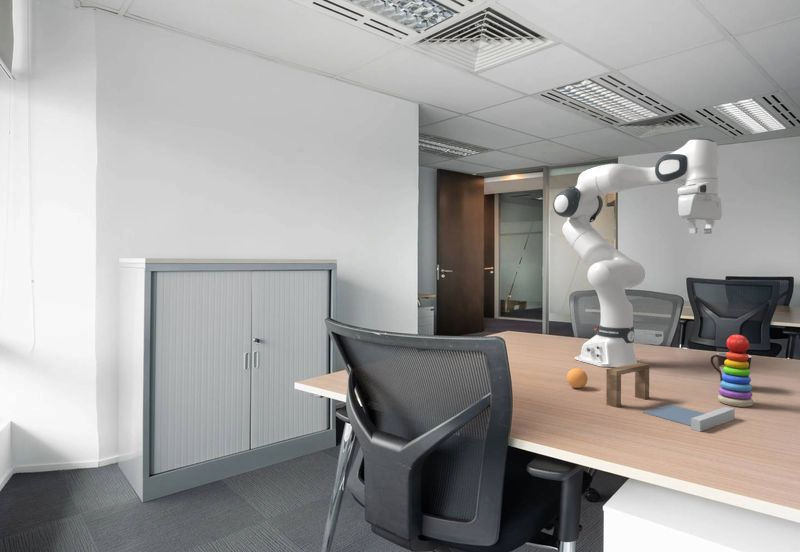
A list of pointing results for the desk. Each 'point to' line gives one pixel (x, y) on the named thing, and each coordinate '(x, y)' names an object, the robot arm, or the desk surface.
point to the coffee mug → (721, 360)
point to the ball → (577, 378)
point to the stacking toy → (736, 374)
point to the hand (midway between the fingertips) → (700, 233)
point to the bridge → (615, 382)
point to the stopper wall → (712, 419)
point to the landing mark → (674, 413)
